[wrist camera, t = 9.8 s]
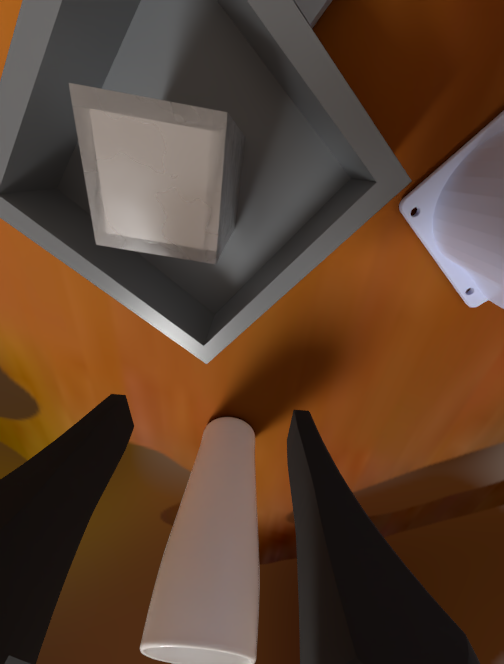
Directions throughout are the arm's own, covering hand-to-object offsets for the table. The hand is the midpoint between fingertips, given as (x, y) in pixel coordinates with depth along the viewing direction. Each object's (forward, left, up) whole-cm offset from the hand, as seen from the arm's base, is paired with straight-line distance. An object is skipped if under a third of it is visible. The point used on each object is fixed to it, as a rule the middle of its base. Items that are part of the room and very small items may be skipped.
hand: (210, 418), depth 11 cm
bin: (+7, -5, -10) cm, 13 cm away
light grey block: (+7, -5, -9) cm, 13 cm away
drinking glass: (-9, +11, -10) cm, 17 cm away
